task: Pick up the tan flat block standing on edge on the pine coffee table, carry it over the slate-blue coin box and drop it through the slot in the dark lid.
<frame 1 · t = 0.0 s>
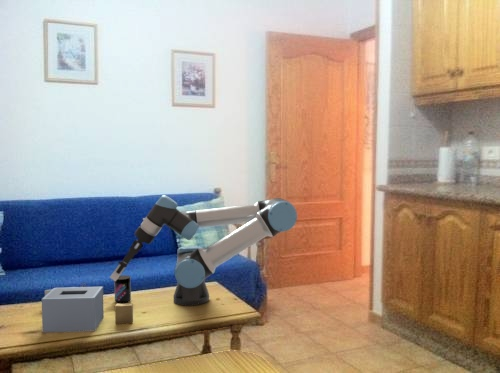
hand: (116, 274, 185), 15 cm above the table, tool tilted 35°, fingers open, 13 cm apart
tan flat block: (124, 323, 176), on the table
supplement container: (122, 301, 201), on the table
coin box: (74, 324, 174), on the table
cassette: (61, 307, 194), on the table
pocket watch: (87, 308, 193), on the table
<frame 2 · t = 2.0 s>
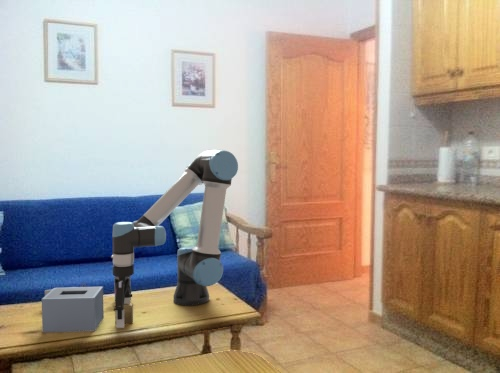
hand: (123, 320, 175), 1 cm above the table, tool pointing down, fingers open, 13 cm apart
nothing on the table moved.
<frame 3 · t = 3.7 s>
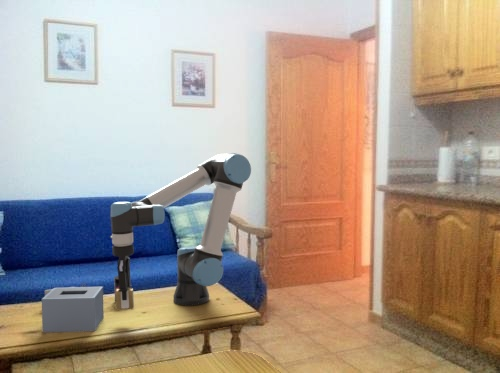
hand: (126, 306, 175), 6 cm above the table, tool pointing down, fingers closed on tan flat block, 2 cm apart
tan flat block: (125, 308, 175), point 6 cm above the table, touching gripper
everything else where it was.
when the fingers open (13 cm above the table, at t = 5.6 s): tan flat block drops 10 cm and tips over, resting on coin box.
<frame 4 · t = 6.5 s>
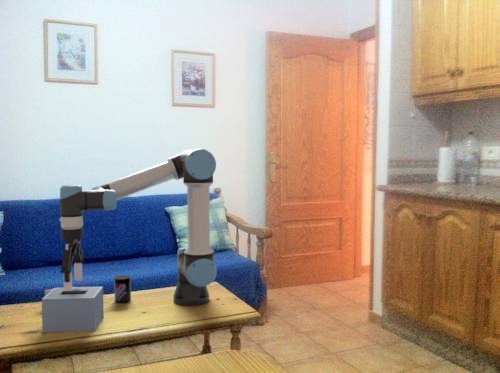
hand: (73, 285, 173), 15 cm above the table, tool pointing down, fingers open, 13 cm apart
tan flat block: (73, 319, 174), point 2 cm above the table, tilted 42°, touching coin box
everything else where it was.
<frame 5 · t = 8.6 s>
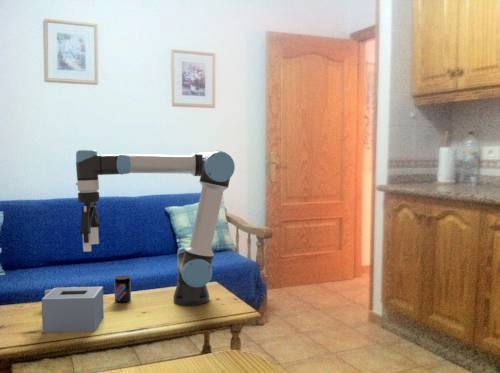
hand: (91, 247, 178), 27 cm above the table, tool pointing down, fingers open, 13 cm apart
nothing on the table moved.
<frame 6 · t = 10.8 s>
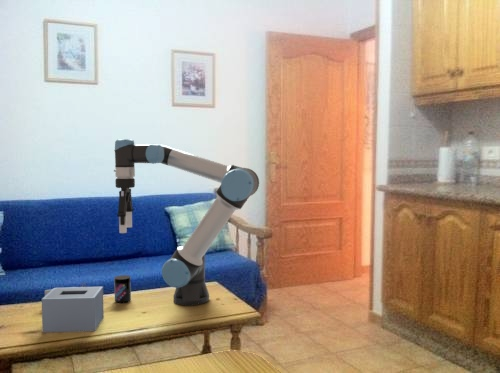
hand: (126, 230, 192), 32 cm above the table, tool pointing down, fingers open, 13 cm apart
nothing on the table moved.
at the end: tan flat block inside the target area on the coin box (0.6 cm from its centre), point 1.8 cm above the coin box's base; the gripper is holding nothing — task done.
